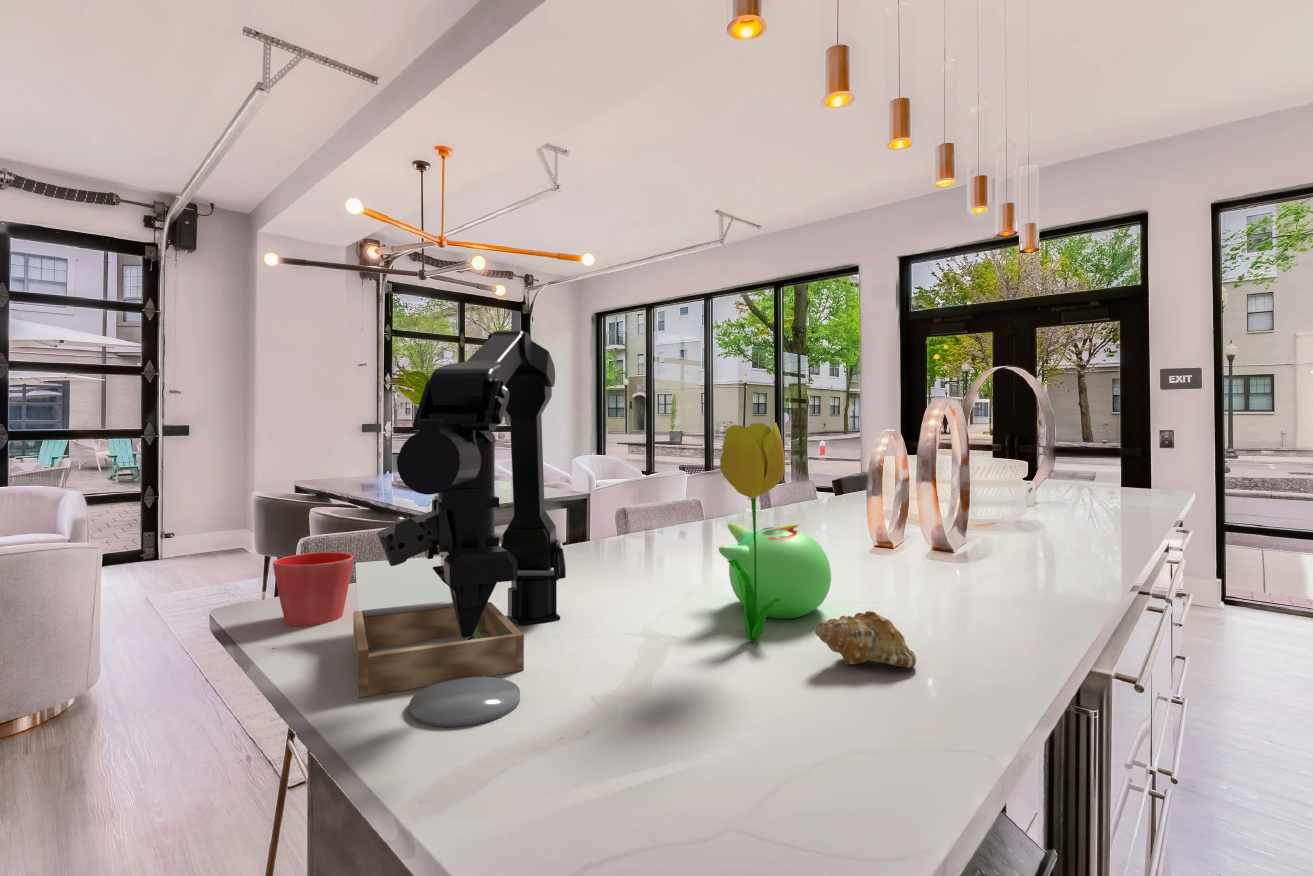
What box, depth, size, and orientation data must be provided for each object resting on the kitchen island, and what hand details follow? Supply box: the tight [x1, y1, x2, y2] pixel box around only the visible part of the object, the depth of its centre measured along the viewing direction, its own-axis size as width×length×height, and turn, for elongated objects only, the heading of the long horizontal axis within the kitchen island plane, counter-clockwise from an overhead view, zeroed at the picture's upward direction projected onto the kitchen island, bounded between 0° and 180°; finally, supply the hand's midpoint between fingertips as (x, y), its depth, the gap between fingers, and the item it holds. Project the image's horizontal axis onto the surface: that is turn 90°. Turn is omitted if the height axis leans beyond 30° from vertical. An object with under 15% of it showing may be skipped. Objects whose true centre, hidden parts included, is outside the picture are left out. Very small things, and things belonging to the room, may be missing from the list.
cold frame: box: [352, 601, 525, 698], centre depth 80 cm, size 18×18×5 cm
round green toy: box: [718, 522, 832, 620], centre depth 100 cm, size 18×17×15 cm
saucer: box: [409, 676, 521, 728], centre depth 66 cm, size 11×11×1 cm
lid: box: [355, 555, 489, 618], centre depth 92 cm, size 17×11×10 cm, turn 117°
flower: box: [719, 422, 786, 644], centre depth 85 cm, size 9×8×30 cm
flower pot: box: [272, 551, 354, 627], centre depth 98 cm, size 11×11×10 cm
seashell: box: [814, 610, 917, 668], centre depth 77 cm, size 9×8×10 cm
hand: (466, 636), depth 66 cm, fingers closed
